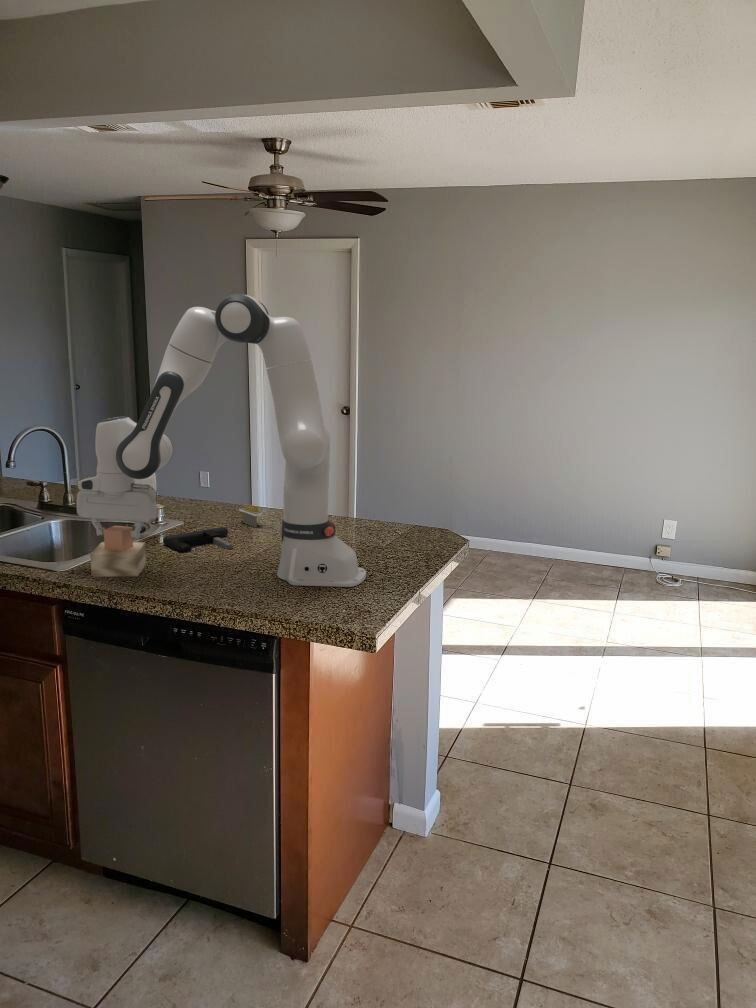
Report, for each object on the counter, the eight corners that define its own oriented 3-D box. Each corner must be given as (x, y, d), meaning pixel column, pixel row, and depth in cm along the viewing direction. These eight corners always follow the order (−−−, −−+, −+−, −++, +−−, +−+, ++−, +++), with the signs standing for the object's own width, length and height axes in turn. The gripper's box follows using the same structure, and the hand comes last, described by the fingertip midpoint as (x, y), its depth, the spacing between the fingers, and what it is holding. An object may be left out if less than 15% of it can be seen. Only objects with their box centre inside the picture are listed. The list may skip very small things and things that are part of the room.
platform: (253, 518, 259) (252, 499, 258) (283, 529, 246) (283, 508, 245) (221, 523, 251) (220, 503, 250) (250, 534, 238) (250, 513, 237)
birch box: (145, 564, 204) (145, 542, 203) (137, 577, 193) (136, 553, 192) (102, 564, 203) (101, 542, 201) (91, 577, 192) (90, 553, 191)
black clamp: (250, 538, 224) (221, 524, 235) (186, 549, 211) (159, 534, 222) (250, 549, 225) (221, 535, 236) (186, 561, 212) (159, 545, 223)
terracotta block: (133, 546, 199) (132, 527, 198) (122, 551, 194) (121, 531, 193) (115, 544, 200) (114, 525, 199) (104, 549, 195) (103, 529, 194)
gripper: (161, 482, 194) (162, 536, 197) (85, 477, 198) (88, 530, 201) (149, 487, 188) (150, 542, 191) (71, 482, 192) (74, 536, 195)
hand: (118, 536), depth 196 cm, fingers open, 8 cm apart
